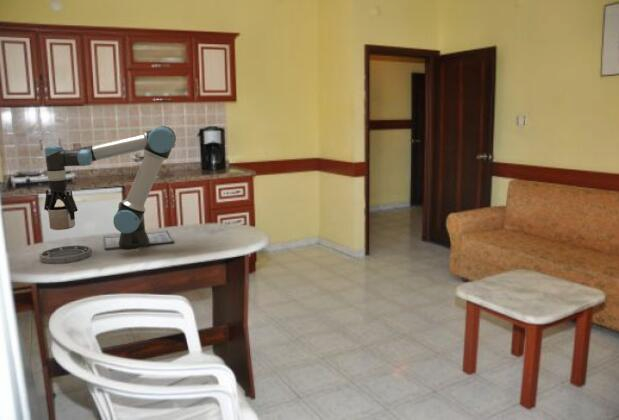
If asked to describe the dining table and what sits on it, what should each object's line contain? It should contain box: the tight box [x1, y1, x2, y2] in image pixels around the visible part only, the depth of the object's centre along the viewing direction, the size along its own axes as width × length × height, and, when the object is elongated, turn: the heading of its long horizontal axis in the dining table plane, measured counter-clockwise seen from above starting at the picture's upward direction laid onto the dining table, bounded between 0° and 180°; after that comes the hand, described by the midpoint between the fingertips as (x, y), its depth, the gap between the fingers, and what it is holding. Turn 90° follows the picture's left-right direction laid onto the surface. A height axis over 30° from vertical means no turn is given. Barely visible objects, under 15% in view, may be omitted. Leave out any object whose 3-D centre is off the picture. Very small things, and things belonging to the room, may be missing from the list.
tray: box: [38, 244, 93, 265], centre depth 248 cm, size 22×22×3 cm
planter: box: [47, 205, 76, 231], centre depth 245 cm, size 11×11×10 cm
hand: (62, 225), depth 246 cm, fingers closed on planter, 11 cm apart
